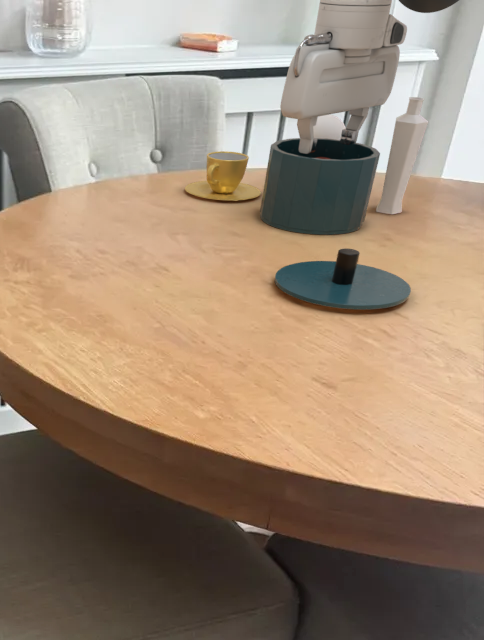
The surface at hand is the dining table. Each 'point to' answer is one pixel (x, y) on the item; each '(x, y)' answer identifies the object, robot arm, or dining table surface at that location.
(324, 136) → the light bulb
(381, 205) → the perfume bottle
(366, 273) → the tin lid
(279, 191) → the tin
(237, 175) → the cup
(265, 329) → the dining table surface
